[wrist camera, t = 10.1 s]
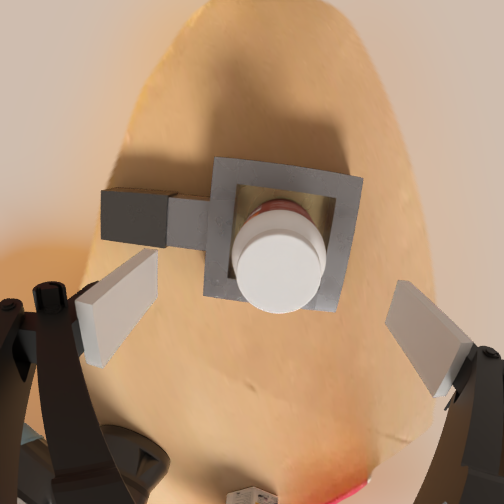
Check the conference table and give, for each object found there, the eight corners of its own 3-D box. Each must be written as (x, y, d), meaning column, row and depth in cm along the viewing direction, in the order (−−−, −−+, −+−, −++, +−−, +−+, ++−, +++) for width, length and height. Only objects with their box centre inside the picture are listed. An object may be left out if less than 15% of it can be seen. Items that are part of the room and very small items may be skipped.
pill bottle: (252, 190, 25) (232, 206, 15) (320, 206, 25) (349, 232, 14) (239, 256, 27) (213, 312, 16) (304, 271, 27) (317, 334, 16)
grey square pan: (116, 263, 30) (98, 276, 26) (118, 153, 26) (97, 152, 22) (328, 293, 29) (335, 312, 25) (350, 175, 25) (363, 178, 22)
